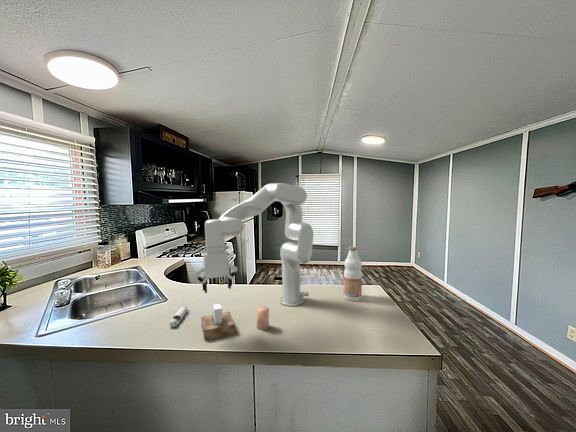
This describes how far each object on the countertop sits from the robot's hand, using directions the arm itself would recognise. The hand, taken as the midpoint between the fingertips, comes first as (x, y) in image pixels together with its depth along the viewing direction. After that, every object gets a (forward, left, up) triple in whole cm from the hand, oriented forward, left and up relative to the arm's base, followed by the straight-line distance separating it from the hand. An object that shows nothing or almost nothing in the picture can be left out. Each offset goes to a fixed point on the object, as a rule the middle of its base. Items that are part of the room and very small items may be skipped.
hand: (217, 289), depth 106 cm
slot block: (0, 0, -17) cm, 17 cm away
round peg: (-18, +6, -17) cm, 25 cm away
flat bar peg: (0, 0, -17) cm, 17 cm away
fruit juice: (-72, -3, -17) cm, 74 cm away
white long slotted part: (+15, -17, -18) cm, 29 cm away
